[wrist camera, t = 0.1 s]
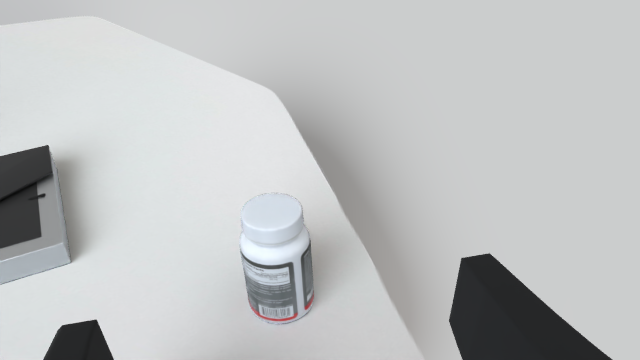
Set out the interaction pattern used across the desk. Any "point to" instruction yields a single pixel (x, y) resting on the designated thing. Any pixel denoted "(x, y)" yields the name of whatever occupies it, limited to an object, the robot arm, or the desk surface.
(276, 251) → the pill bottle
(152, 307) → the desk surface
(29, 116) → the desk surface
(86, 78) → the desk surface
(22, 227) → the picture frame
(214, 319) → the desk surface
